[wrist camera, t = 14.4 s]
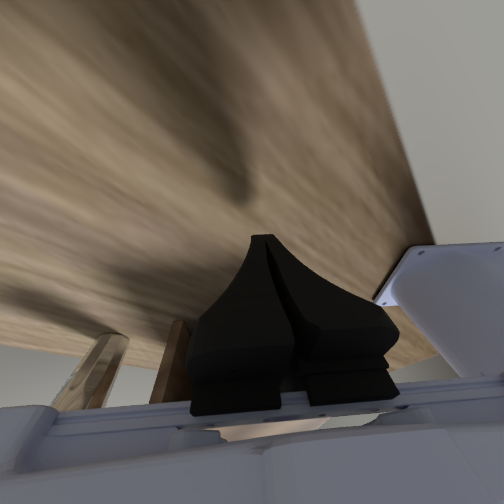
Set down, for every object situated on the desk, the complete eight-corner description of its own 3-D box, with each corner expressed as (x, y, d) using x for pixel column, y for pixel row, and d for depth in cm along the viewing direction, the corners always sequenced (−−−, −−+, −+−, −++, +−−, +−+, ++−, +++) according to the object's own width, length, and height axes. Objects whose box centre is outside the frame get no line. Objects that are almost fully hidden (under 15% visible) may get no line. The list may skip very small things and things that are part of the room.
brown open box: (299, 312, 20) (332, 415, 13) (287, 355, 27) (306, 438, 20) (173, 321, 19) (139, 435, 12) (193, 362, 26) (178, 452, 19)
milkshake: (75, 331, 19) (-37, 481, 11) (127, 328, 20) (55, 471, 12) (96, 350, 22) (18, 482, 14) (141, 347, 22) (90, 474, 15)
